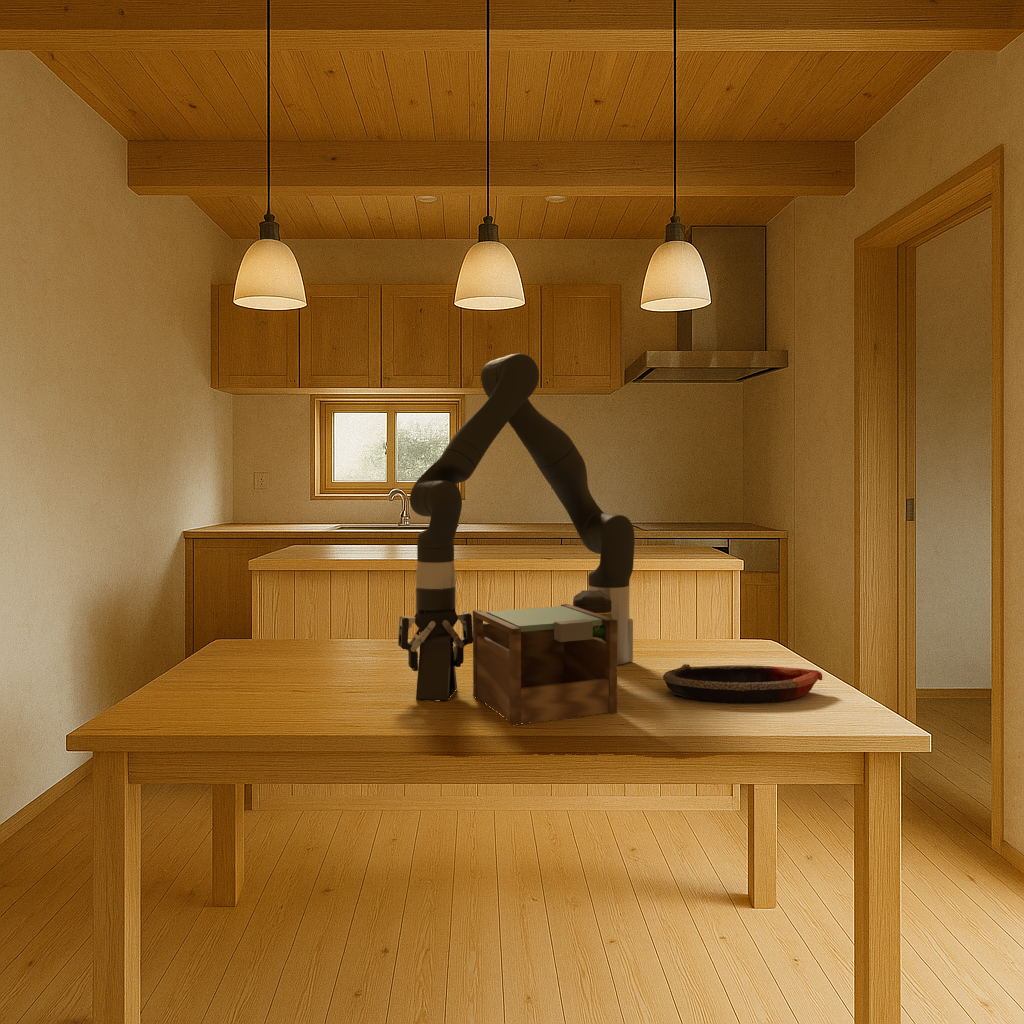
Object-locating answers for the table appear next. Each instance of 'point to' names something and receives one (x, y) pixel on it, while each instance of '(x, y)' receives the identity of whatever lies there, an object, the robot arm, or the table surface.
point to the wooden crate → (543, 671)
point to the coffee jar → (595, 608)
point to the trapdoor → (552, 621)
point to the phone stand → (436, 669)
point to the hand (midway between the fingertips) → (436, 668)
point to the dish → (741, 683)
